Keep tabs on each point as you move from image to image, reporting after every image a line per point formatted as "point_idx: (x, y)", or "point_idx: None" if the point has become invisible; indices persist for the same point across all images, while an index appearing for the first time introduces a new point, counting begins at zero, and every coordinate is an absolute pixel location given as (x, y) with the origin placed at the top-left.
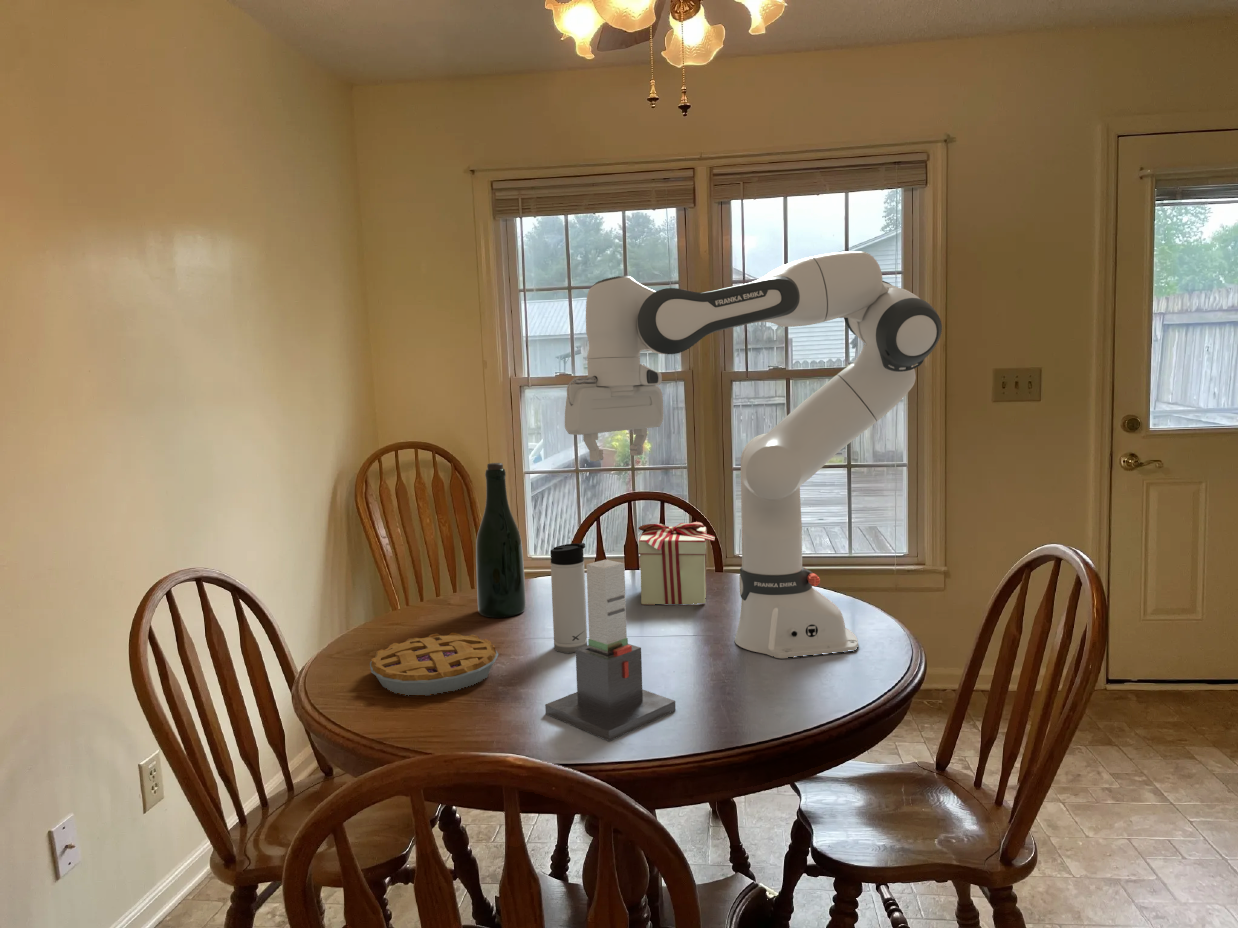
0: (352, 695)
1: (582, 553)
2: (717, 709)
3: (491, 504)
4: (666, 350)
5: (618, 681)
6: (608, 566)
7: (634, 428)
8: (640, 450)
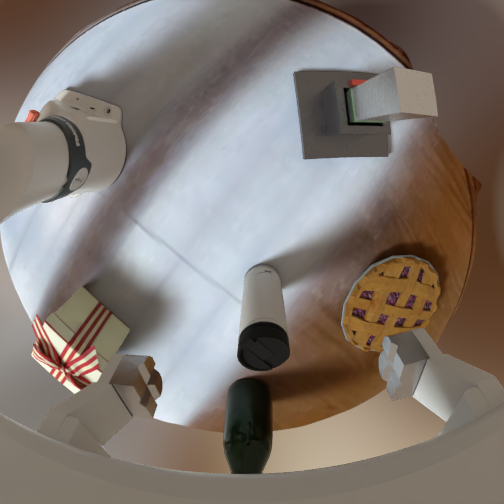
0: (441, 298)
1: (247, 333)
2: (260, 51)
3: None
4: None
5: None
6: (422, 75)
7: (128, 465)
8: (120, 365)
